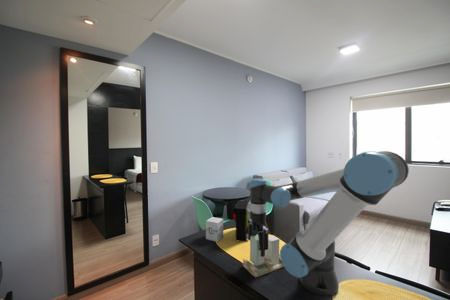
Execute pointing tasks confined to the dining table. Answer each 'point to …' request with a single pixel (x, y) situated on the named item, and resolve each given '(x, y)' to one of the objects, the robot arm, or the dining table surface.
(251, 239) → the sage plug
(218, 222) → the ink box
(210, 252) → the dining table surface
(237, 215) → the electrical component
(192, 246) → the dining table surface
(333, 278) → the robot arm
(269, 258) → the white tall block
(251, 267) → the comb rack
